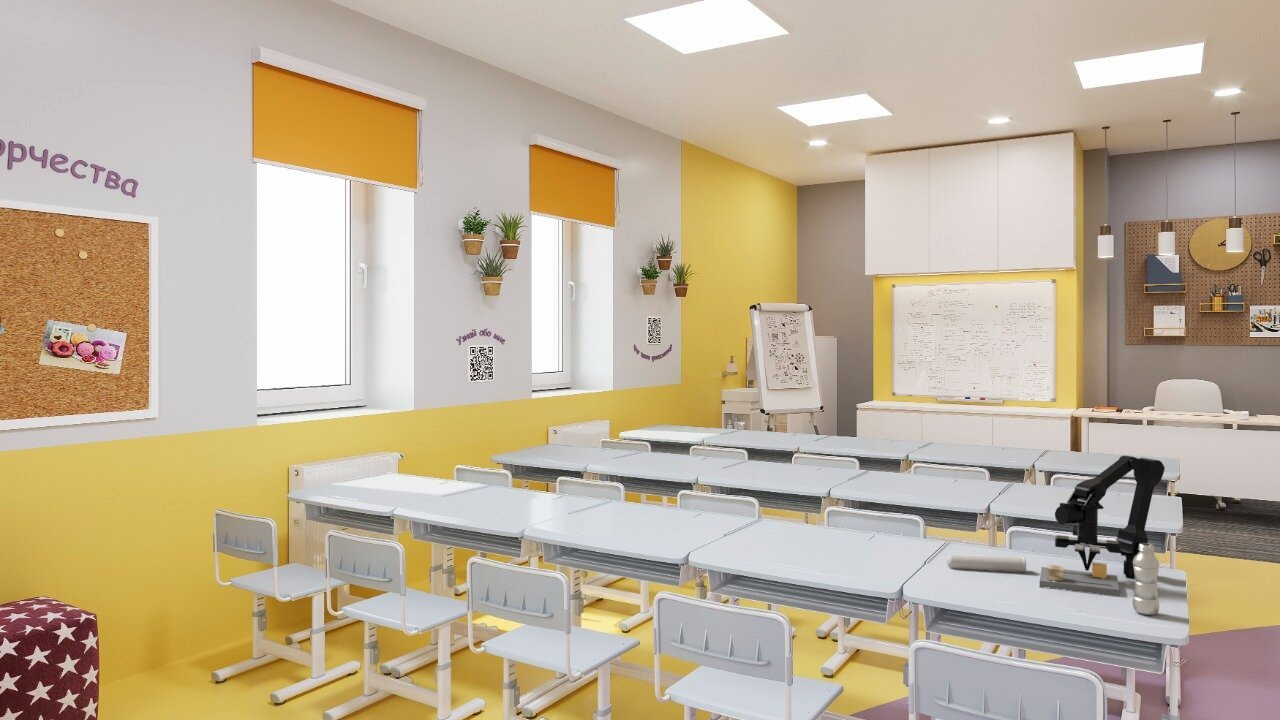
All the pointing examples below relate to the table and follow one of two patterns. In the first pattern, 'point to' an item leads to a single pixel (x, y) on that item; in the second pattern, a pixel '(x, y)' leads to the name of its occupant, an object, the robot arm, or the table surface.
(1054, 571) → the oak fader
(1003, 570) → the tube
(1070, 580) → the fader panel
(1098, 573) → the block
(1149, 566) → the plastic bottle
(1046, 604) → the table surface
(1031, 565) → the table surface
